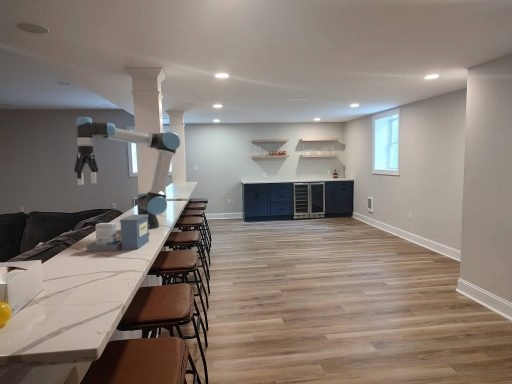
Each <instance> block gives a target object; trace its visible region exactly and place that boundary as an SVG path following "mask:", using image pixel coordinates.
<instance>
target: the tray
mask: <svg viewBox="0 0 512 384" xmlns="http://www.w3.org/2000/svg"><path fill="white" fill-rule="evenodd" d="M119 250H122V242H121V239H117V244H116V245H96V240H95V241H94V242H90V243H89V244H86V251H87V252H118V251H119Z"/></svg>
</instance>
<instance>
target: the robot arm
mask: <svg viewBox="0 0 512 384" xmlns="http://www.w3.org/2000/svg"><path fill="white" fill-rule="evenodd" d="M93 138H96V139H106V140H113V141H118V142H123V143H129V144H136V145H140V146H141V145H142V146H146V148H150V149H155V150H156V151H157V153H158V154H157V155H158V156H157V158H156V159H157V161H156V165H155V169H154V174H153V178H152V184H151V187H150V190H148V191H147V193H146V192H145V193H139V194H137V197H136V202H137V206H136V207H137V215H144V214H149V216H148V230H150V229H151V228H152V229H157V228H159V227H160V222H159V219H158V217H157V216H158V215H162V214H163V213H164V212H165V211H166V210H167V208H168V201H167V194H166V192H165V191H166V188H167V187H166V186H167V182H168V177H169V172H170V168H171V163H172V159H173V157H174V156H175V155H176V153H177V149H179V147H180V145H181V138H180V137H179V134H177V133H176V132H175V131H165V132H159V133H153V132H149V133H144V132H139V131H134V130H127V129H124V128H123V129H122V128H117V127H116V126H115V124H114V123H112V122H98V121H93V120H92V118H91V117H88V116H79V117H77V118H76V139H77V142H76V143H77V152H78V154H76V160H75V165H74V167H73V168H74V170H73V171H74V173H75V174H76V175H77V176H76V177H77V186H82V185H85V184H84V172H83V170H84V169H85V165H86V164H87V165H88V167H89V169H90V171H91V172H90V180H91V181H90V182H91V184H97V173H98V172H99V168H98V163H97V161H96V156H95V154H93V153H94V146H93V145H94V140H93Z"/></svg>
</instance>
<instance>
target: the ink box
mask: <svg viewBox="0 0 512 384" xmlns="http://www.w3.org/2000/svg"><path fill="white" fill-rule="evenodd" d="M95 239H96V240H95V241H96V245H116V244H117V240H118V239H117V223H116V222H100V223H96V224H95Z"/></svg>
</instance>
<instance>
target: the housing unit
mask: <svg viewBox="0 0 512 384" xmlns="http://www.w3.org/2000/svg"><path fill="white" fill-rule="evenodd" d="M148 216H149V214H144V215H138V214H131V215H128V216H126V217H123V218H121V219H119V223H120V240H121V242H122V248H121V250H139V249H141V248H142V247H143V246H145V245H146V244H147V243H149V242H150V236H149V234H150V233H149V229H148Z"/></svg>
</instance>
